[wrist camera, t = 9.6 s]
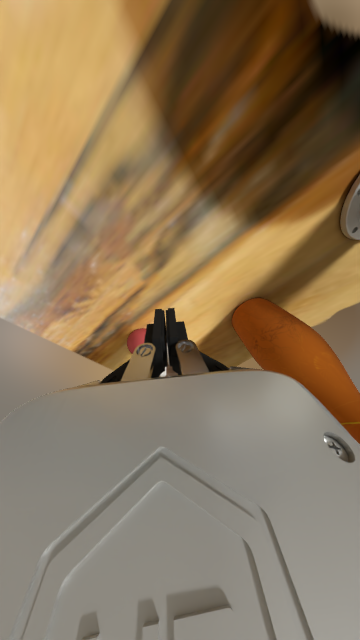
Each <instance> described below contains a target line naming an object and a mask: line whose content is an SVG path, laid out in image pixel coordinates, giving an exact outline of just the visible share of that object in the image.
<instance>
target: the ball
mask: <svg viewBox="0 0 360 640" xmlns="http://www.w3.org/2000/svg"><path fill="white" fill-rule="evenodd" d="M145 334H146V329H143V328H142V329H137V330H135V331H133V332H132V333H131V334H130V335H129V337H128V340H127V346H128V349H129V351H130V352H131V353H132V354H133V352H134V350H135V349H136V347H137V346H139V345H140V344H143V343H144V339H145Z"/></svg>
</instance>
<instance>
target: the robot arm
mask: <svg viewBox="0 0 360 640" xmlns="http://www.w3.org/2000/svg"><path fill="white" fill-rule="evenodd" d="M340 224H341V230H342V232H343V234H344V235H345V236H346V237H347V238H350V239H354V240H360V175H359V176H358V178H357V179H356V181H355V182H354V184H353V186H352V188H351V189H350V191H349V193H348V195H347V197H346V200H345V203H344V205H343V209H342V213H341V220H340ZM167 347H168V356H169V365H170V367H171V366H172V370H173V371H174V372H176V373H177V375H176V376H166V377H160V375H161V374H162V373H163V372H164V371H165V367H168V363H167ZM0 640H360V445H359V444H358V443H357V442H356V441H355V439H354V438H353V437H352V436H351V435H350V434H349V433H348V431H347V430H346V429H345V428H344V427H343V426H342V425H341V424H340V423H339V422H338V421H337V419H336V418H335V417H334V416H333V415H332V414H331V413H330V412H329V411H328V410H327V409H326V408H325V406H324V405H323V404H322V403H321V402H320V401H319V400H318V399H317V398H316V397H315V396H314V395H313V394H312V393H311V392H310V391H308V390H307V389H306V388H305V387H304V386H303V385H302V384H300V383H299V382H298V381H296V380H295V379H293V378H291V377H289V376H287V375H284V374H281V373H278V372H273V371H269V370H260V369H250V368H241V367H230V368H227V367H226V366H225V365H223V364H221V363H220V362H218V361H216V360H214V359H212V358H210V357H209V356H207V355H205V354H203V353H201V352H199V350H198V348H197V346H196V344H195V343H194V342H193V341H191V340H188V338H187V333H186V329H185V324H184V321H183V322H176V318H175V311H174V308H168V310H166V324H165V314H164V310H162V309H155V317H154V324H147V328H146V334H145V339H144V343H143V344H140V345H139V346H137V347H136V349H135V350H134V352H133V355H132V357H131V359H130V360H129V361H127V362H126V363H124V364H123V365H122V366H120V367H119V368H117V369H116V370H115V371H113V372H112V373H111V374H109V375H108V376H106V378H104V379H103V380H102V381H99V380H98V381H94V382H91V383H87V384H84V385H81V386H77V387H73V388H67V389H63V390H59V391H55V392H52V393H49V394H45V395H43V396H40V397H38V398H35V399H33V400H31V401H29V402H27V403H25V404H23V405H21V406H19V407H18V408H16V409H15V410H13V411H12V412H11V413H10V414H8V415H7V416H6V417H5V418H4V419H3V420H2V421H1V422H0Z"/></svg>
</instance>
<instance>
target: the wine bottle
mask: <svg viewBox="0 0 360 640" xmlns="http://www.w3.org/2000/svg"><path fill="white" fill-rule="evenodd" d="M232 325H233V328H234V329H235V331H236V333H237V334H238V336H239V337H240V339H241V340H242V342H243V343H244V345H245V346H246V348H247V349H248V351H249V352H250V353H251V355H252V356H253V358H254V359H255V360H256V362H257V363H258V364H259V365H260V366H261V367H262V368H263V369H264V370H269V371H273V372H278V373H281V374H284V375H287V376H289V377H291V378H293V379H295V380H296V381H298V382H299V383H300V384H302V385H303V386H304V387H305V388H306V389H307V390H308V391H310V392H311V393H312V394H313V395H314V396H315V397H316V398H317V399H318V400H319V401H320V402H321V403H322V404H323V405H324V406H325V408H326V409H327V410H328V411H329V412H330V413H331V414H332V415H333V416H334V417H335V418H336V419H337V421H338V422H339V423H340V424H341V425H342V426H343V427H344V428H345V429H346V430H347V431H348V433H349V434H350V435H351V436H352V437H353V438H354V439H355V440H356V441H357V442H358V443H359V444H360V393H359V392H358V390H357V388H356V387H355V385H354V384H353V382H352V380H351V379H350V377H349V375H348V374H347V372H346V370H345V369H344V367H343V365H342V363H341V362H340V360H339V359H338V357H337V356H336V354H335V353H334V352H333V350H332V349H331V347H330V346H329V345H328V344H327V342H326V341H325V340H324V339H323V338H322V337H321V336H320V335H319V334H318V333H317V332H316V331H314V330H313V329H312V328H311V327H310V326H308V325H307V324H305V323H304V322H302V321H301V320H299V319H298V318H296V317H295V316H293V315H292V314H290V313H288V312H287V311H285V310H284V309H282V308H280V307H279V306H277V305H275V304H274V303H272V302H270V301H268V300H266V299H263V298H254V299H250V300H248V301H246V302H244V303H243V304H241V305H240V306H239V307H238V308H237V309H236V311H235V312H234V314H233V317H232Z"/></svg>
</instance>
